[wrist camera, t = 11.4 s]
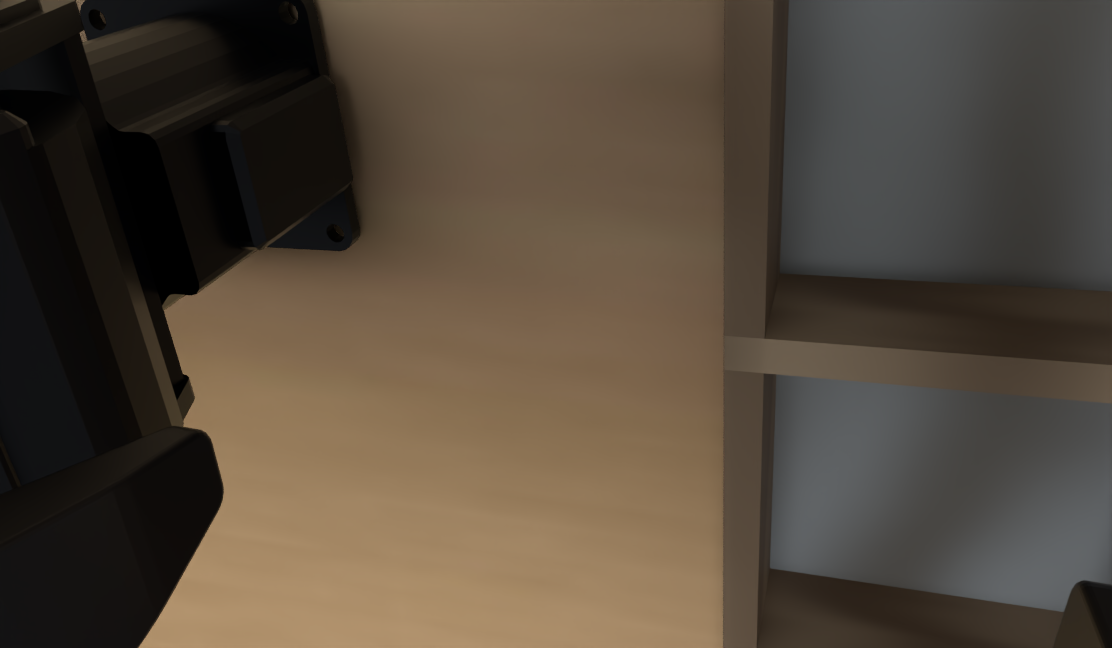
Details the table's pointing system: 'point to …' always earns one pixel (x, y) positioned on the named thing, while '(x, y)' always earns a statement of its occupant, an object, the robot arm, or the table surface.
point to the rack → (915, 320)
